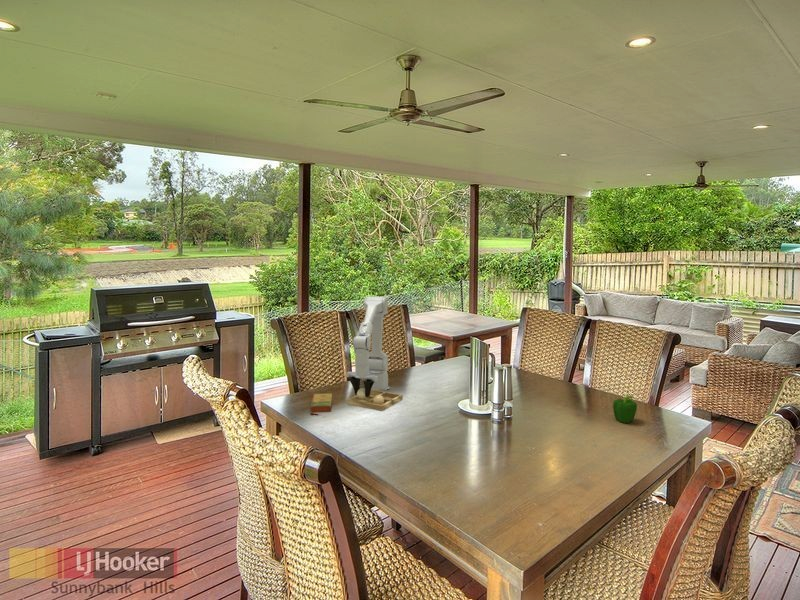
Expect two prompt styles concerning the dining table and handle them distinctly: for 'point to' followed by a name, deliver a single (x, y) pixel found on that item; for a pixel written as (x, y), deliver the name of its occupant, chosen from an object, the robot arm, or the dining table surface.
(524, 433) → the dining table surface
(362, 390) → the white egg
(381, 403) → the tan ball
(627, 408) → the bell pepper
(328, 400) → the carton
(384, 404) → the egg rack
